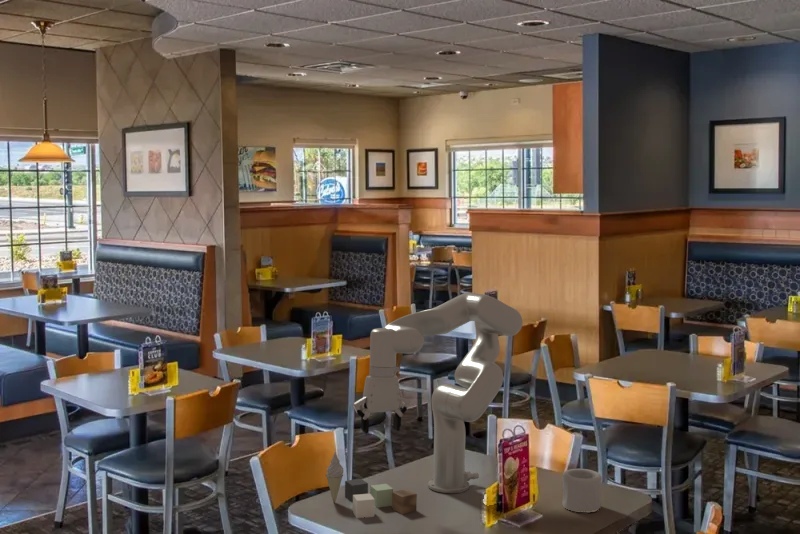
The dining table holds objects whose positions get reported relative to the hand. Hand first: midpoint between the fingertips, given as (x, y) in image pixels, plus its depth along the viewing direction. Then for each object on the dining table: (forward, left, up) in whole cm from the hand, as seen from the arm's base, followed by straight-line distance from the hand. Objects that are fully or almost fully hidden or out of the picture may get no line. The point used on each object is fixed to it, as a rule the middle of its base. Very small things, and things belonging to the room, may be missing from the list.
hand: (380, 430), depth 255 cm
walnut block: (-5, +7, -22) cm, 23 cm away
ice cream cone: (+12, -6, -22) cm, 25 cm away
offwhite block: (+7, +6, -22) cm, 24 cm away
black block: (+4, -7, -22) cm, 23 cm away
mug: (-53, +23, -22) cm, 61 cm away
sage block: (-1, 0, -22) cm, 22 cm away
